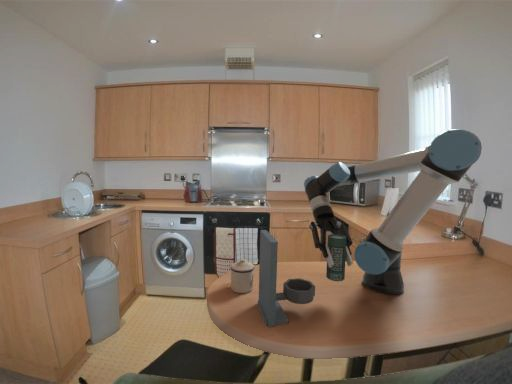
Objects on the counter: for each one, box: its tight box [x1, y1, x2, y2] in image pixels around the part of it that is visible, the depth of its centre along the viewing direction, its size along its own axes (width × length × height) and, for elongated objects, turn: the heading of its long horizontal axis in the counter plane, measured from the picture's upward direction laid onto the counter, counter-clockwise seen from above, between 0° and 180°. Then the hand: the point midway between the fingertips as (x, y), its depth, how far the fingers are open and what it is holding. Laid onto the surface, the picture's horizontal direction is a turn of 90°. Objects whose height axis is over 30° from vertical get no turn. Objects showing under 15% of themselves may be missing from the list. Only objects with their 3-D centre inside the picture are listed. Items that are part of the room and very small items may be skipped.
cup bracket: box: [257, 229, 316, 328], centre depth 86 cm, size 17×14×26 cm
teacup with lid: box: [230, 258, 255, 294], centre depth 104 cm, size 12×9×12 cm
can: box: [325, 233, 346, 282], centre depth 94 cm, size 6×6×15 cm
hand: (341, 265), depth 90 cm, fingers closed on can, 6 cm apart
